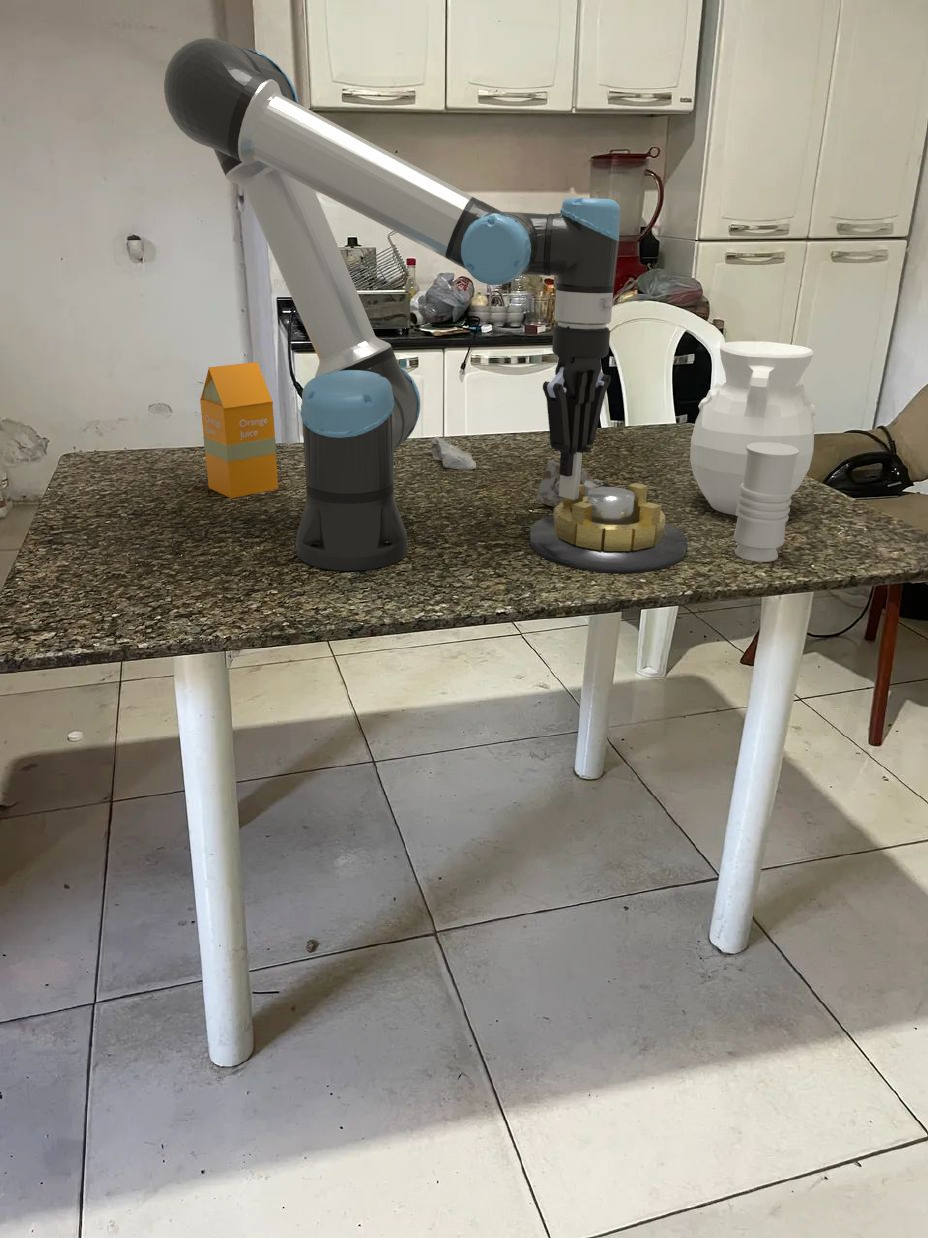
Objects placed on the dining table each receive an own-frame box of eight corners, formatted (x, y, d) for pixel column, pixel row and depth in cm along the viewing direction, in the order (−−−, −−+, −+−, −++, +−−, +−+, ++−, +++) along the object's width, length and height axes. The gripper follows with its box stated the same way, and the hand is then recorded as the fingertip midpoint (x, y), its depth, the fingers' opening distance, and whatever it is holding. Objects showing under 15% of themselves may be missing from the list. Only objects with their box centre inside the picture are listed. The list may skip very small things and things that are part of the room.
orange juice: (207, 487, 156) (195, 363, 148) (255, 478, 162) (245, 358, 154) (231, 498, 151) (220, 371, 143) (279, 488, 157) (271, 365, 148)
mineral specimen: (462, 458, 180) (463, 435, 178) (478, 471, 169) (479, 447, 168) (429, 458, 178) (429, 435, 177) (443, 471, 167) (444, 447, 166)
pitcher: (801, 532, 141) (831, 360, 131) (676, 517, 146) (695, 351, 136) (803, 497, 157) (830, 342, 147) (690, 485, 163) (708, 334, 152)
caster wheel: (617, 517, 154) (599, 526, 145) (555, 493, 158) (534, 500, 149) (631, 478, 152) (614, 484, 143) (567, 454, 155) (547, 459, 147)
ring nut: (561, 550, 127) (564, 511, 125) (549, 515, 141) (551, 479, 138) (672, 551, 127) (677, 512, 125) (650, 516, 141) (653, 480, 139)
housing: (544, 574, 124) (547, 520, 121) (518, 520, 144) (520, 472, 141) (707, 571, 126) (715, 517, 123) (660, 518, 146) (665, 470, 143)
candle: (733, 542, 136) (748, 439, 130) (783, 549, 134) (801, 445, 128) (727, 558, 130) (742, 451, 124) (779, 565, 128) (798, 457, 122)
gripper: (577, 330, 119) (563, 511, 128) (632, 324, 128) (615, 494, 137) (530, 324, 124) (520, 499, 133) (586, 319, 132) (573, 483, 142)
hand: (568, 496), depth 135 cm, fingers closed
